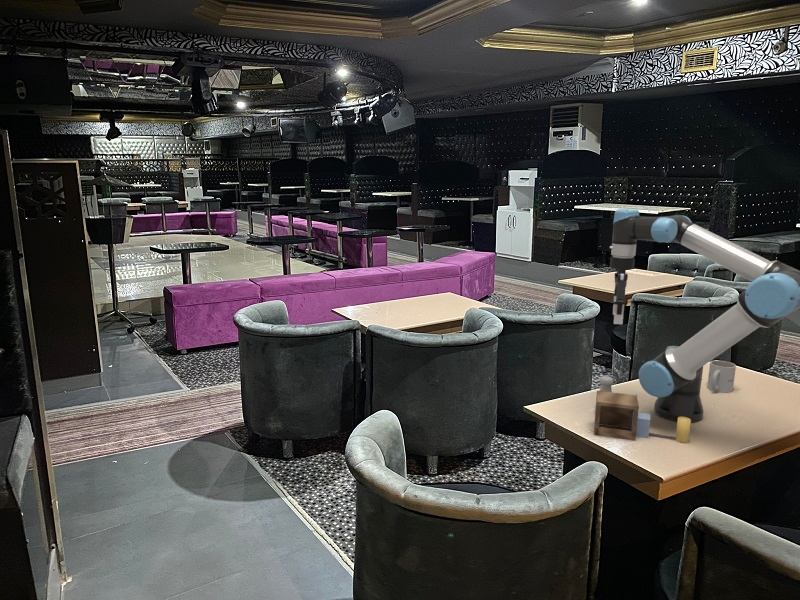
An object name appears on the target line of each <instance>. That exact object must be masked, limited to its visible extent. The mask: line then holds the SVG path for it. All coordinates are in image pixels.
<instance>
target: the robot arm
mask: <svg viewBox="0 0 800 600" xmlns="http://www.w3.org/2000/svg"><path fill="white" fill-rule="evenodd" d="M613 217H614V218H613V222H612V225H613V227H612V228H613V229H612V240H611V245H610V246H609V249H611V251H610V252H611V253H610V255H611V256H610V261H609V267H610V268H611V269H613V270H616V272H614V290H613V292H614V296H613V303H612V304H613V305H612V315H613V325H623V323H624V311H625V304H626V301H625V299H626V287H627V284H628V280H629V279H628V277H629V275H628V273H626V271H627V270H629V271H631V270H633V269H634V268H635V261H636V260H635V259H636V258H635V256H636V252H637V241H648V242H657V243H660V244H661V243H672V242H673V241H674V242H675V243H677V244H680V245H681V246H683V247H685V248H687V249H689V250H690V251H693V252H695V253H697V254H698V255H701V256H702V257H704V258H705V259H708V260H710V261H712V262H713V263H716V264H718V265H719V266H722V267H724V268H725V269H727V270H728V271H730V272H733V273H734V274H736V275H739V276H740V277H741V278H744V279H746V280H748V281H749V282H751V283H750V284H748V287H747V288H746V289H745V290H744V291H742V292H741V293H740V294H738V296H737V298H736V304H734V305H733V306H732V307H730V308H729V309H728V310H726V311H725V312H723V313H722V314H721V315H720V316H718V317H717V318H715V320H713V321H711V322H710V323H709V324H708V325H705V327H704V328H702V329H701V330H699V331H698V332H697V333H695V334H694V335H692V337H690V338H689V339H687V340H686V341H685V342H684V343H682V344H681V345H680V346H678V345H670V346H669V345H668V346H667V347H666V348H665V350H664V351H663V352H661V353H660V354H659V355H658V356H656V357H655V358H653V359H651V360H648V361H646V362H644V364H642V365H641V366H640V367H639V370H638V382H639V384H640V386H641V388H642V389H643V391H645V392H646V393H647V394H648V395H650V396H651V397H655V398H657V399H655V401H654V408H653V411H654V413H655V414H656V415H658V416H660V417H661V418H664V419H666V420H669V421H675V422H677V421H678V417H687V418H690V419H691V423H697V422H699V421H700V422H701V421H702V420H703V418H704V408H703V403H702V399H701V396H700V395H701V387H702V379H703V372H704V366H706V365H707V364H708V363H710V362H711V361H714V359H715V358H717V357H718V356H719V355H721V354H723V353H724V352H725V351H727V350H728V349H730V348H731V347H733V346H734V345H736V344H737V343H739V342H740V341H742V340H743V339H745V338H746V337H747V336H749V335H750V334H751V333H753V332H754V331H756V330H757V329H759V328H767V329H768V328H771V327H773V326H774V325H775V324H777V323H778V322H779V321H781V320H782V319H783V318H785V317H787V316H788V315H790V314H791V313H794V312H795V311H797V310H798V311H799V310H800V270H799V269H796V268H794V267H793V266H790V265H787V264H786V263H783V262H781V261H779V260H777V259H776V260H771V261H770V260H769V259H768V258H767V259H766V258H765V257H763V256H761V255H759V254H756V253H754V252H753V251H751V250H748V249H747V248H745V247H742V246H740V245H738V244H737V243H735V242H732V241H730V240H728V239H726V238H724V237H722V236H720V235H719V234H718V235H717V234H715V233H714V232H711V231H710V230H709V229H706V228H703V227H702V226H699V225H698V224H696V223H694V222H692V220H691V219H690V218H689V217H688V216H686V215H681V214H675V215H666V216H665V215H664V216H643V215H640V212H639V210H638V209H634V208H633V209H632V208H618V209H616V210H615V212H614V216H613Z"/></svg>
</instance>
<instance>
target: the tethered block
mask: <svg viewBox="0 0 800 600" xmlns="http://www.w3.org/2000/svg"><path fill="white" fill-rule="evenodd" d="M633 414H634V412H633ZM650 422H651V413H644V412H639V411H638V421H637V431H636V438H643V439H649V437H654V438H655V437H656V438H662V439H669V440H674V441H677V442H678V443H682V444H687V443H689V441H690V430H691V423H692V422H691V419H690V418H687V417H678V421H676V422H677V423H676V430H675V431H676V432H675V436H674V435H667V434H661V433H655V432H650V425H651V424H650ZM632 425H633V418H632ZM630 431H632V428H631V429H630Z"/></svg>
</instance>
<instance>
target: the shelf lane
mask: <svg viewBox="0 0 800 600" xmlns="http://www.w3.org/2000/svg"><path fill="white" fill-rule="evenodd" d="M595 399H596V401H595V406H596V407H595V410H594V412H595V413H594V421H593V422H594V427H593V428H594V432H593V433H594V436H597V437H598V436H599V437H605V438H613V439H620V440H627V441H628V440H629V441H636V440H637V436H636V431H637V421H638V412H639V409H640V407H639V406H640V405H639V401H638V395H637V394H629V393H620V392H613V391H612V392H604V391H600V390H597V391H596V397H595ZM633 412H634V414H633ZM632 418H633V425H632ZM604 426H605V427H604ZM606 426H607V427H606ZM612 427H613V428H612ZM614 427H615V428H614ZM620 428H622V429H620ZM631 428H632V431H631ZM628 429H629V430H628Z"/></svg>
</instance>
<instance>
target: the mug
mask: <svg viewBox="0 0 800 600" xmlns="http://www.w3.org/2000/svg"><path fill="white" fill-rule="evenodd" d="M736 369H737V365H736V364H735V363H733V362H729V361H728V360H727V361H726V360H720V359H719V360H711V361H710V362H709V369H708V379H707V388H706V389H708V390H709V391H711V392H715V393H720V394H731V393H733V392H734V384H735V377H736V376H735V375H736Z"/></svg>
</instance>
